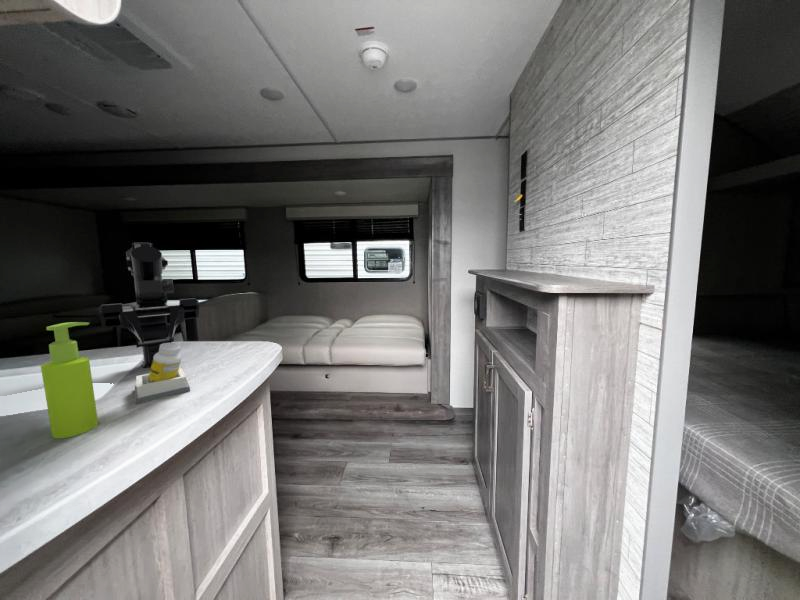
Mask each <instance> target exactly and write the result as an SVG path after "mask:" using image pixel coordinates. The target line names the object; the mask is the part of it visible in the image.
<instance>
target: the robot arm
mask: <svg viewBox="0 0 800 600" xmlns="http://www.w3.org/2000/svg"><path fill="white" fill-rule="evenodd" d="M125 255H126V256H125V257H126V265H127V269H128V271H130V272H131V276H132V277H133V279H134V280H133V281H134V290H135V301H136V307H134V306H130V305H129V306H123V303H121V302H120V303H109V304H101V305H100V306H99V307H98V315H99V320H100V323H101V327H102V328H104V329H111V328H118V327H121V328H122V329H128V330H129V331H130V332H131V333H132V334H134V336H135V344H136V345H135V346H136V349H137V348H142V354H143V355H142V356H143V360H142V368H148V367H147V366H150V367H151V365H152V361H153V357H154V355H155V354H156V353H157V352H159V347H160V345H161V344H163V343H174V342H175V339H174V335H175V332H176V329H177V327H178V326H179V324H180V323H183V322H184V321H185V320H193V319H194V320H195V319H197V318H198V317H199V313H200V302H199V300H198V299H197V298H195V297H194V298H193V297H192V298H181V299H179V303H178V305H167V303H168V296H167V294H174V293H175V292H174V290H175V289H174V288H175V287H174V286H175V285H174V282H173V278H163V275H162V274H163V271H164V270H165V269H166V267H167V266H168V265H169V264H168V260H166V259H165V257H164V256H163V254H162V252H161V251H160V250H159V249H158V248H156V247H154V245H153V243H151V242H131V248H129V249H128V250H127V251H125ZM168 315H169V323H168V320H167V316H168Z"/></svg>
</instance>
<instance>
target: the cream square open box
mask: <svg viewBox="0 0 800 600" xmlns="http://www.w3.org/2000/svg"><path fill="white" fill-rule="evenodd" d="M149 374H150V373H145V374H141V375H136V378H135V379H136V385H135V386H134V402H135V403H134V404H139V403H144V402H148V401H153V400H157V399H161V398H166V397H170V396H173V395H179V394H182V392H183V393H186V391H187V392H190V391H191V387H190V385H189V382H188V380H187V376H186V374H185V372H184V369H183V368H182V367H179V370H178V374H177V378H172V379H167V380H162V381H158V382H153V383H148V378H149Z"/></svg>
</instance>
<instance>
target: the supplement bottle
mask: <svg viewBox="0 0 800 600" xmlns="http://www.w3.org/2000/svg"><path fill="white" fill-rule="evenodd" d="M180 351H181V345H179V344H178V343H175V342H172V343H163V344H161V345H160V347H159V352H157V353H156V354H155V355H154V357H153V361H152V365H151V366H150V371H149V373H148V374H149V378H148V383H153V382H158V381H162V380H167V379H172V378H177V374H178V370H179V368H180V365H181V360H182V356H181V354H180Z"/></svg>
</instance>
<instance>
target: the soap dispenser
mask: <svg viewBox="0 0 800 600" xmlns="http://www.w3.org/2000/svg"><path fill="white" fill-rule="evenodd" d="M88 325H90V322H86V321H85V322H84V321H82V322H81V321H80V322H79V321H73V322H72V321H69V322H68V321H67V322H62V323H56V324H53V325H50V326H49V325H48V326H46V331H53V335H54V340H55V341H53V342H52V343H50V344H48V350H49V355H50V356H49V357H50V361H49V362H46V363H44V364H41V365H40V371H41V376H42V382H43V387H44V393H45V401H46V406H47V413H48V418H49V424H50V431H51V437H52V438H53V439H66V438H71V437H75V436H79V435H82V434H85V433H87V432H89V431H92V430H93V429H95V428H96V427H97V426H98V425H99V420H98V413H97V406H96V405H97V404H96V397H95V391H94V384H93V377H92V376H93V375H92V369H91V364H90V362H91V361H90V358H89V357H87V356H80V355H79V354H80V353H79V347H78V341H76V340H73V339H70V334H69V329H68V328H72V327H76V326H78V327H79V326H88Z"/></svg>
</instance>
